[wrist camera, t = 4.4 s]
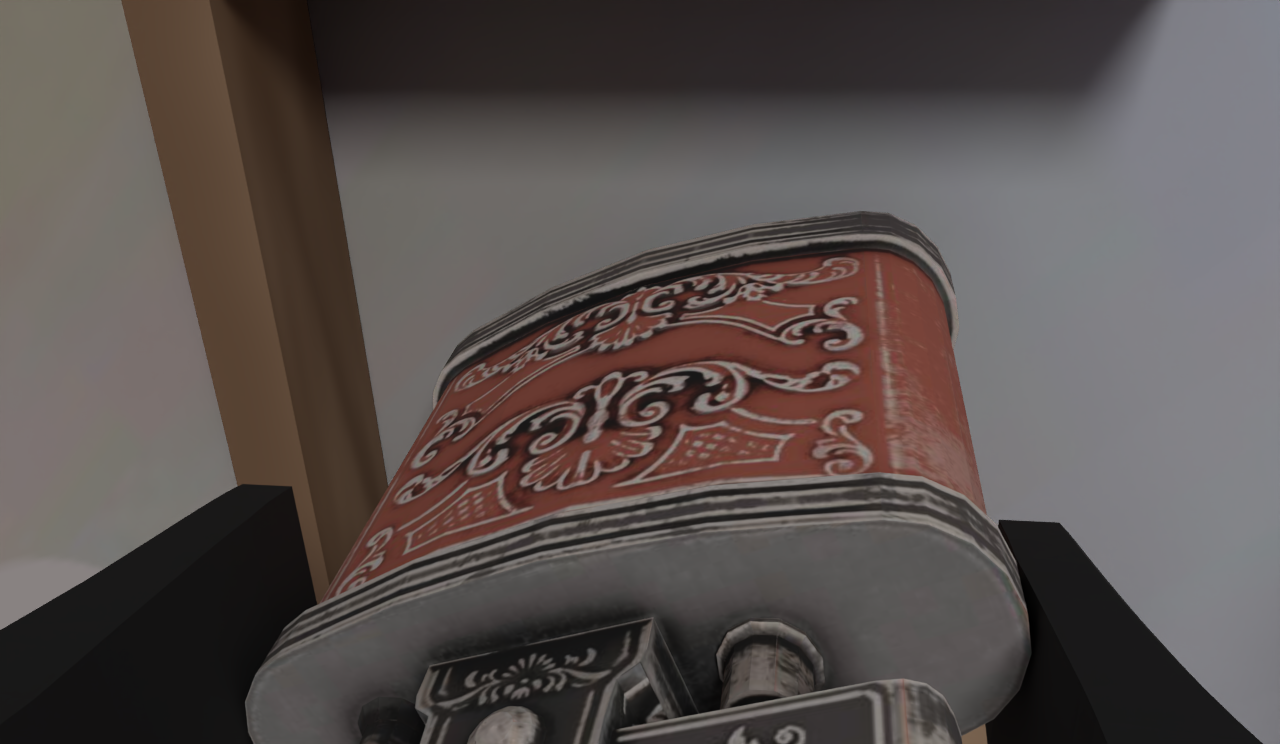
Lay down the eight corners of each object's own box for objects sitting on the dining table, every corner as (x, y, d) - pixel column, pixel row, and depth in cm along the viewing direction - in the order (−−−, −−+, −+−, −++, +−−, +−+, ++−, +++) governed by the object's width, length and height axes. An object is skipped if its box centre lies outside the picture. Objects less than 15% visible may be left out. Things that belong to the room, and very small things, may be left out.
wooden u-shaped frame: (1221, -176, 15) (1305, -159, 12) (1073, 654, 22) (1107, 780, 19) (204, -143, 17) (92, -122, 14) (352, 612, 24) (293, 720, 21)
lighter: (500, 496, 20) (238, 1096, 11) (411, 324, 18) (33, 854, 10) (979, 372, 17) (1131, 1010, 9) (917, 164, 16) (1025, 671, 7)
